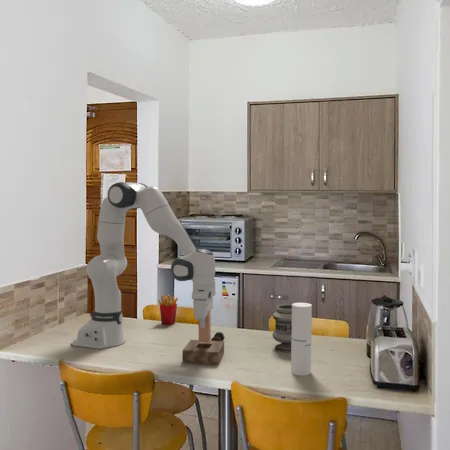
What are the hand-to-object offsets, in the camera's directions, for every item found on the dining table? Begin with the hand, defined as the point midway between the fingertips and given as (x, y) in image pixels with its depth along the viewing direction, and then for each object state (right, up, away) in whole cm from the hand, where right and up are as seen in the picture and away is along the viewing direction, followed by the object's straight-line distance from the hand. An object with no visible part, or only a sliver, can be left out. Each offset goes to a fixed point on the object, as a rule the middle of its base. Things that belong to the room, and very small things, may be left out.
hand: (204, 325), depth 194 cm
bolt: (+5, -13, +19) cm, 23 cm away
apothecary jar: (+34, -13, +14) cm, 39 cm away
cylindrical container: (+36, -15, -14) cm, 41 cm away
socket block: (0, -13, +1) cm, 13 cm away
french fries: (-20, -10, +50) cm, 55 cm away
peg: (0, -6, 0) cm, 6 cm away
